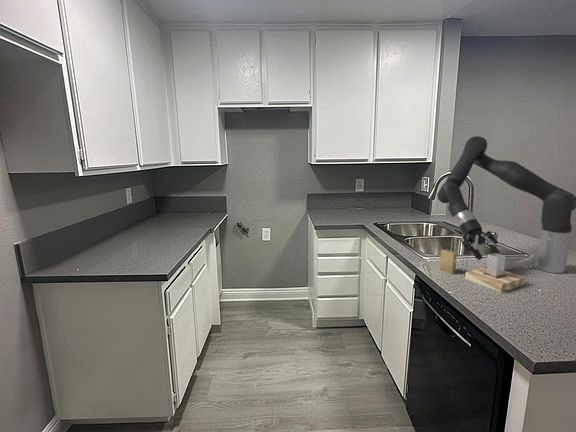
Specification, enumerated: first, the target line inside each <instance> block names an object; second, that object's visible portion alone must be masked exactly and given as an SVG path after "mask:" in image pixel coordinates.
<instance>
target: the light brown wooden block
mask: <svg viewBox="0 0 576 432" xmlns="http://www.w3.org/2000/svg"><path fill="white" fill-rule="evenodd" d="M457 254H458V253H457V252H454V251H452V250H449V249H440V261H439V270H440V271H442V272H445V273H448V274H450V275H454V274H456V271H457V270H456V269H457V257H458V255H457Z"/></svg>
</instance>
